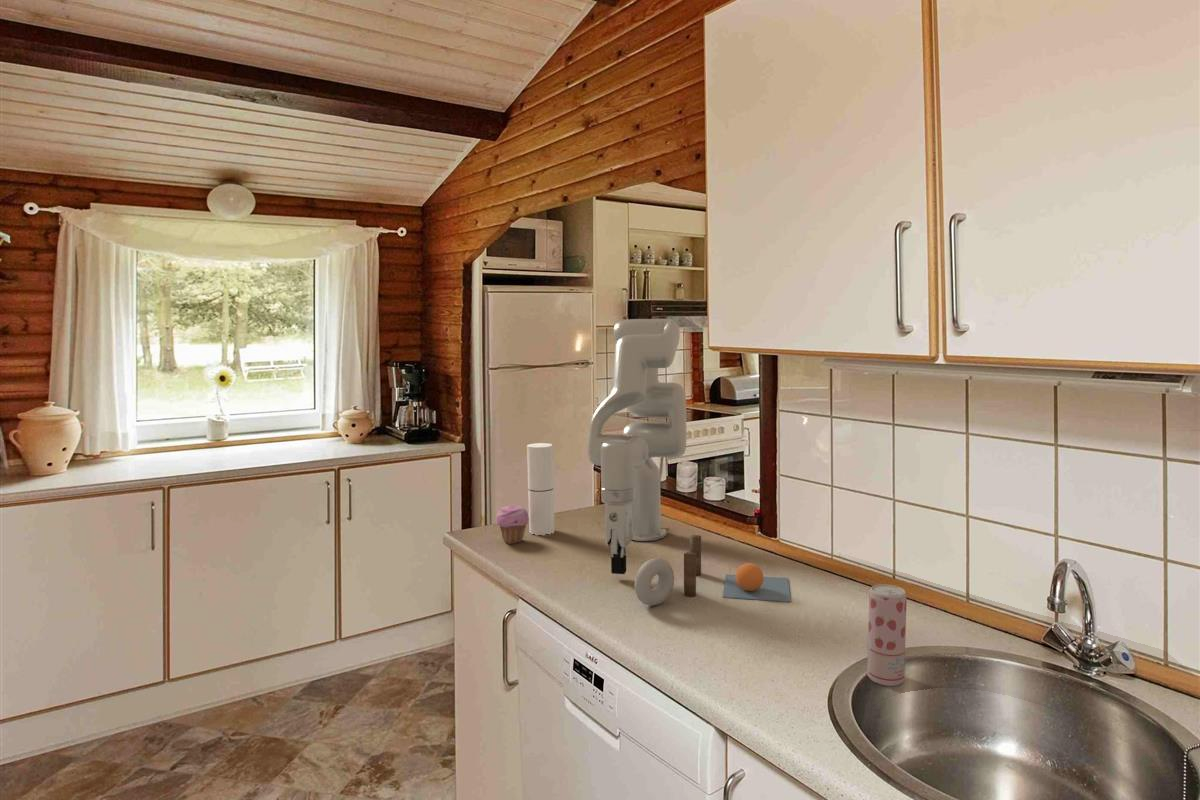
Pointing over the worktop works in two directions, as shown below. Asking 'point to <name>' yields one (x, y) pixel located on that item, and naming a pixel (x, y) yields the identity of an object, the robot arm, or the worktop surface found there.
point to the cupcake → (512, 523)
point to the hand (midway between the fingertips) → (618, 572)
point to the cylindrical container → (540, 488)
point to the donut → (645, 578)
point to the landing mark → (768, 591)
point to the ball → (749, 577)
